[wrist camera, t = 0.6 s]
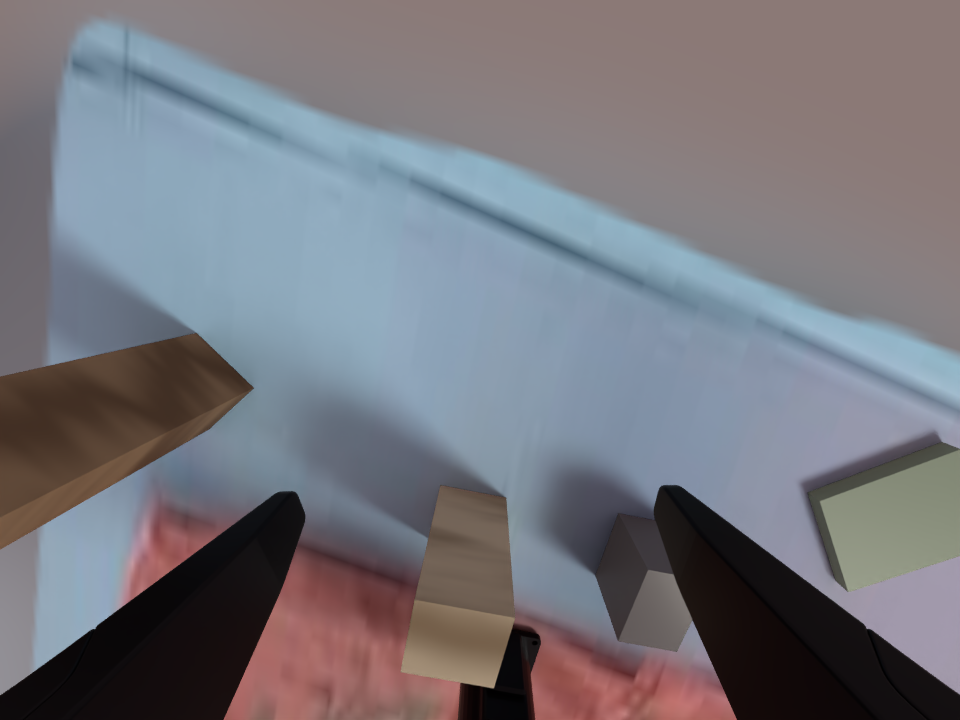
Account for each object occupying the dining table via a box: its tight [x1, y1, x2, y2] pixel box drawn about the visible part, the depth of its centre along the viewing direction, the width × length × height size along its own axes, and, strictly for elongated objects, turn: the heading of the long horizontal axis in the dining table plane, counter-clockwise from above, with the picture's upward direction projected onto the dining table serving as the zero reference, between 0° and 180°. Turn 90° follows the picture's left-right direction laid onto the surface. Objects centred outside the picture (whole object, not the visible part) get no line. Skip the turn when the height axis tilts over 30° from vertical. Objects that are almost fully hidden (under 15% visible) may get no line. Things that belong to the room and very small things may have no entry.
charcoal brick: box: [595, 513, 692, 652], centre depth 24 cm, size 6×4×5 cm, turn 169°
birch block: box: [401, 485, 515, 688], centre depth 21 cm, size 5×5×9 cm
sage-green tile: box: [808, 442, 960, 592], centre depth 25 cm, size 9×9×2 cm
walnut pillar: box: [0, 333, 253, 549], centre depth 17 cm, size 5×5×13 cm
